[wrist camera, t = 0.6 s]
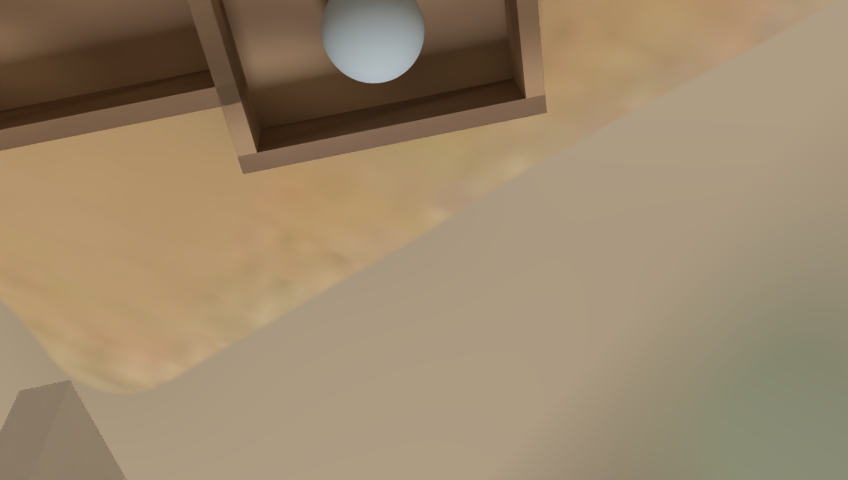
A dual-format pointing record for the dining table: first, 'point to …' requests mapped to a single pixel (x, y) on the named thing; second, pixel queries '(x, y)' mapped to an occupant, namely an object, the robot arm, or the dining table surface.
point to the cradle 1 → (101, 66)
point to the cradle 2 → (368, 102)
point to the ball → (372, 37)
